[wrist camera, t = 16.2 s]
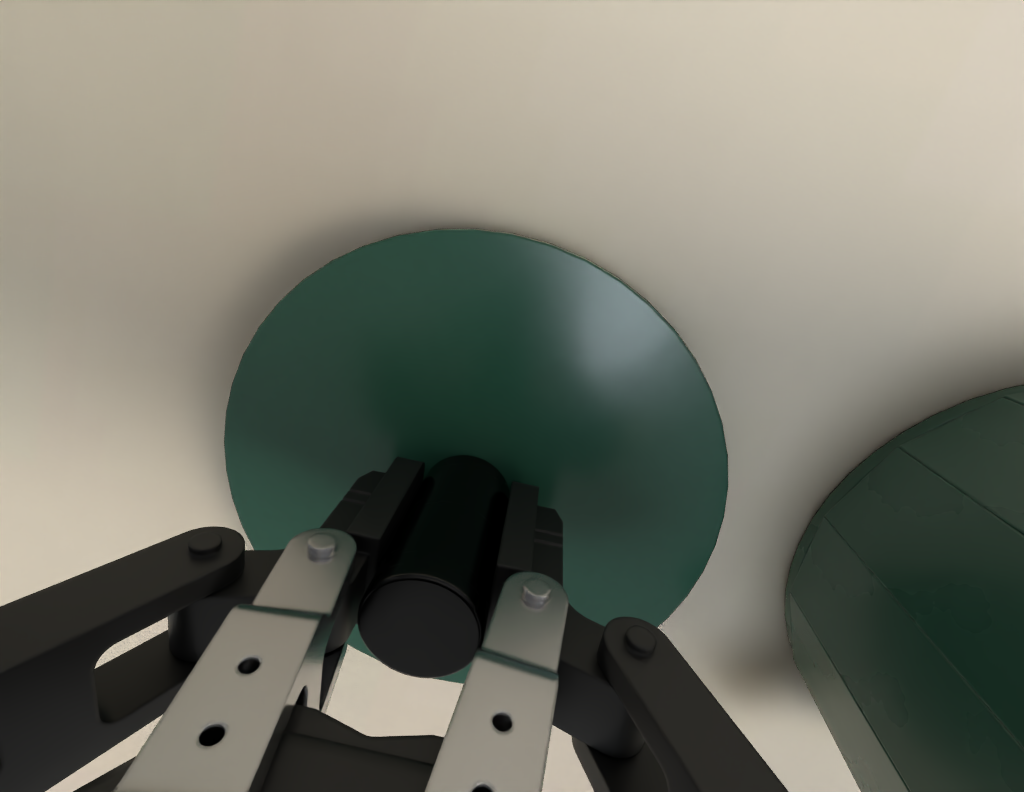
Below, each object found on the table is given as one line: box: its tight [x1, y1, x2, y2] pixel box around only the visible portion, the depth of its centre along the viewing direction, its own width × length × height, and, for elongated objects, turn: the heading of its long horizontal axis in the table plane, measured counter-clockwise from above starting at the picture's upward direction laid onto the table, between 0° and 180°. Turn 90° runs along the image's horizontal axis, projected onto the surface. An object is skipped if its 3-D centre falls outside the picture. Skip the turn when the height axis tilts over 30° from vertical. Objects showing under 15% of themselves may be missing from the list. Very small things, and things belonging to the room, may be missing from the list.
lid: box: [224, 229, 728, 684], centre depth 13 cm, size 14×14×6 cm
